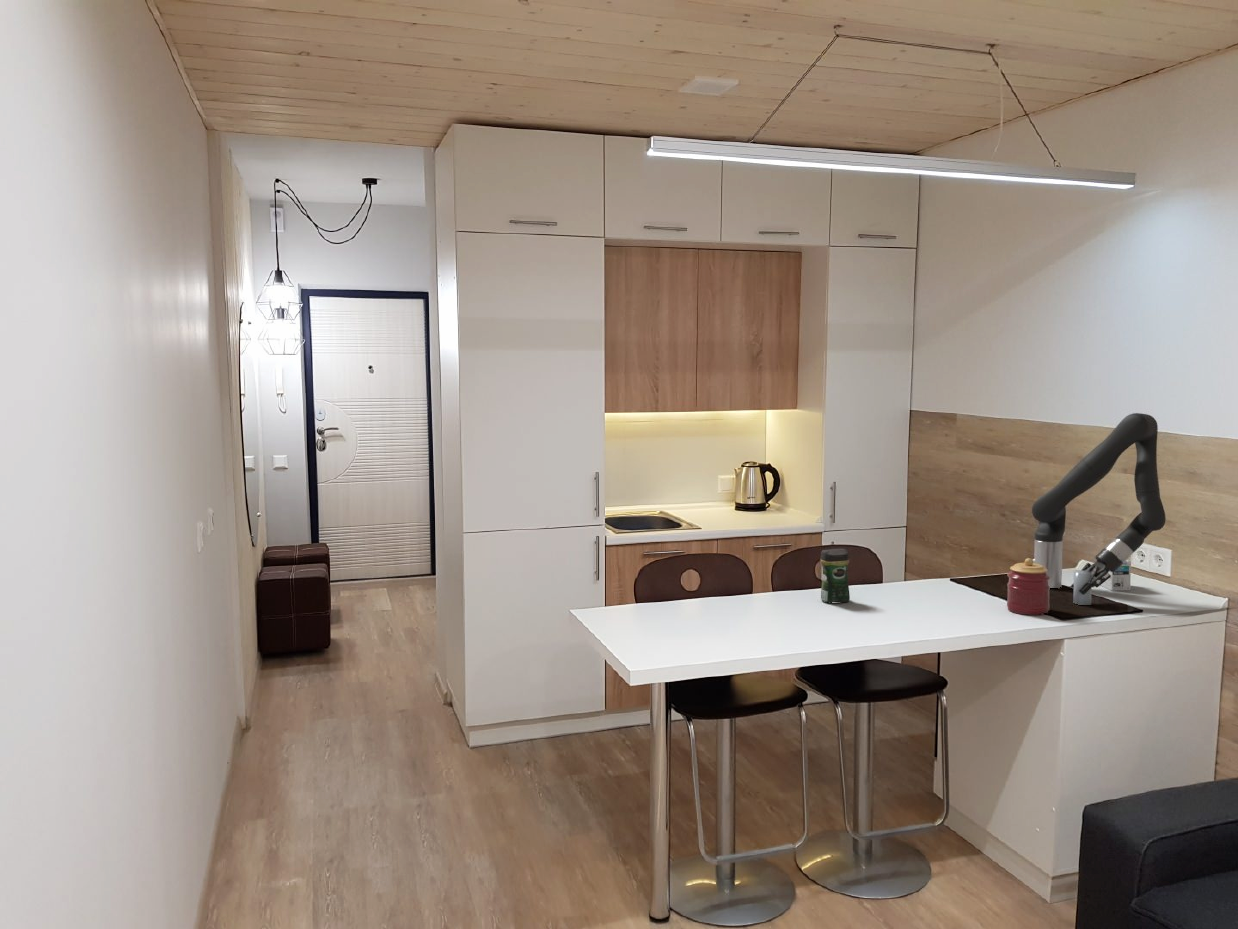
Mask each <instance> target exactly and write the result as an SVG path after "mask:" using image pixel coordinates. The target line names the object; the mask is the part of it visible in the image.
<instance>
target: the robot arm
mask: <svg viewBox="0 0 1238 929" xmlns="http://www.w3.org/2000/svg"><path fill="white" fill-rule="evenodd" d="M1158 430H1159V429H1158V422H1157V420H1156V418H1154V417H1153V416H1152V415H1150V414H1147V413H1140V412H1139V413H1138V412H1133V413H1131V414H1130V413H1129V414H1128V415H1126V416H1125V417H1124V418H1123V419H1121V421H1120V422H1119V423H1118V424H1117V425H1116V426H1115V428H1114V429H1113V430H1112V431H1111V432H1110V434H1109V435H1108V436H1106V438H1104V440H1102V441H1101V442H1100V443H1099V444H1098V445H1097V446H1096V447H1094V448H1093V449H1092V450H1091V451H1089V453H1087V455H1085V456H1084V457H1083V458H1081V460H1080V461H1078V463H1076V465H1074V467H1072V468H1071V470H1069V472H1068V473H1066V474H1065V475H1064V477H1063V478H1062V479H1061V480H1060V481H1059V482H1058V483H1057V484H1056V485H1055V486H1054V487H1053V488H1051V489H1050V490H1049V491H1047V492H1046V493H1045V494H1043V495H1042V496H1041V497H1039V498H1038V499H1036V500H1035V501H1034V503H1033V505H1032V508H1031V513H1032V514H1031V515H1032V516H1033V518H1034V519H1035V520H1036V521H1038V525H1037V529H1036V530H1035V532H1034V554H1033V555H1034V558H1033V559H1032V558H1031V559H1032V560H1033V563H1035V564H1040V565H1042V566H1043V567H1045V568H1046V569H1047V570H1048V571H1047V572H1046V573H1047V574H1048V575H1049V576H1050V579H1049V580H1048V584H1049V586H1050V588H1058V589H1061V588H1062V583H1063V582H1062V581H1063V580H1062V579H1063V577H1062V576H1063V540H1064V539H1063V538H1064V533H1065V530H1066V519H1067V516H1066V514H1067V512H1066V511H1067V509H1066V506H1068V505H1069V503H1071V502H1072V501H1073V500H1075V499H1076V498H1077V497H1079V496H1081V495H1083V494H1084V493H1086V492H1087V491H1089V490H1090V489H1091V488H1094V486H1095V485H1097V484H1098V483H1099V482H1100V481H1102V480H1103V479H1104V478H1105V477H1106V476H1107V475H1108V474H1109V473H1110V472H1111V470H1112V469H1113V467H1114V466H1115V465H1116V463H1117V461H1118V459H1119V458H1120V457H1121V455H1122V454H1123V453H1124V452H1125V451H1126V450H1127V449H1129V448H1130V447H1131V446H1132V445H1135V450H1136V463H1135V467H1134V468H1135V469H1134V477H1133V478H1134V482H1133V483H1134V489H1135V497H1136V500H1137V502H1138V503H1139V504H1140V510H1141V512H1139V514H1137V515H1136V516H1135V517H1134V518H1133V520H1132V521H1131V522H1130V523H1129V524H1128V525H1127V527H1126V528H1125V529H1124V530H1123V531H1122V532H1121V533H1119V535H1117V536H1116V537H1115V538H1114V539H1113V540H1112V541H1110V542H1109V543H1108V544H1107V545H1106V546H1104V548H1102V550H1100V551H1099V553H1098V554H1097V553H1096V555H1095V557H1094V558H1095V560H1096V561H1095V562H1094V563H1092V564H1091V563H1090V562H1087V563H1086V564H1085V565H1084V566H1083V567H1082V568H1081V570H1082V571H1089V572H1092V573H1091V575H1090V579H1089V580H1088V581H1087V583H1085V584H1084V585H1083V586H1082V587H1081V588H1080V589H1079V592H1080V593H1081V594H1083V595H1084V594H1085V593H1087V592H1088V591H1089V590H1090V589H1091V588H1096V589H1097V588H1099V587H1100V586H1101V584H1103V583H1104V582H1105V581H1106V580H1108V579H1109V578H1110V577H1111V575H1110V574H1109V573H1108V572H1109V571H1110V572H1115V571H1116V570H1117V569H1118V568H1119V567H1120V566H1121V565H1122V564H1123V563H1124V562H1125V561H1127V560H1128V561H1129V559H1130V557H1132V555H1133V554H1134V553H1135V552H1136V551H1137V550H1138V549H1139V548H1140V547H1141V546H1142V545H1143V544H1144V541H1145V539H1146V538H1147V537H1148V536H1149V535H1151V533H1153V532H1154V531H1155V532H1156V531H1160V530H1161V529H1163V528H1164V526H1165V524H1166V519H1167V518H1166V512H1165V509H1164V505H1163V504H1164V503H1163V502H1162V499H1161V491H1160V490H1161V489H1160V484H1159V483H1160V482H1159V474H1158V462H1157V461H1158V459H1157V458H1158V457H1157V455H1158V454H1157V452H1158V451H1157V448H1158V446H1157V445H1158ZM1070 585H1071V586H1070V588H1072V589H1073V590H1074V582H1073V583H1072V584H1070ZM1060 587H1061V588H1060ZM1091 590H1092V589H1091Z"/></svg>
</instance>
